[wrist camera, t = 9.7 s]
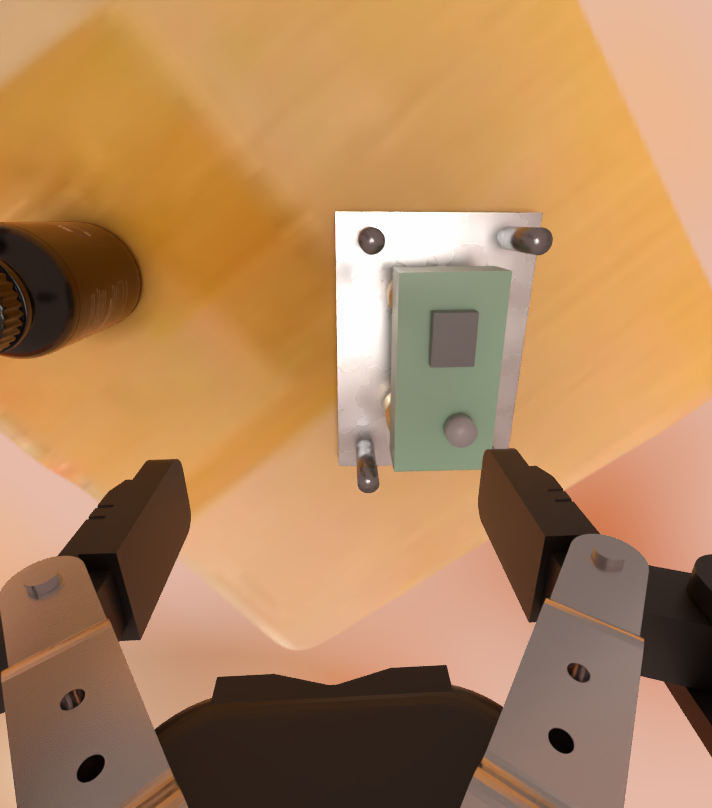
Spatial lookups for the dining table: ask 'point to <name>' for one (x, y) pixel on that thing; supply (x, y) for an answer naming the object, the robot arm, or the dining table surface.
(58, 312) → the supplement bottle
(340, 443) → the chassis
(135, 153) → the dining table surface
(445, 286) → the board
